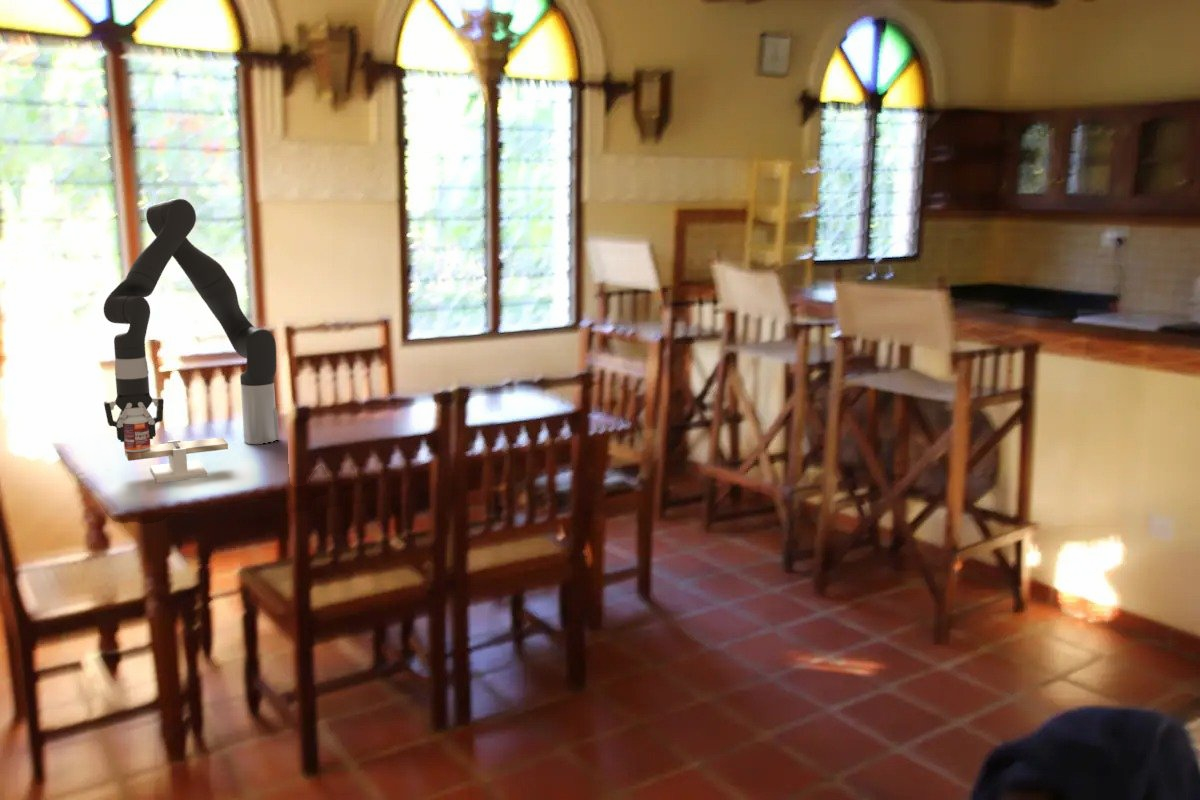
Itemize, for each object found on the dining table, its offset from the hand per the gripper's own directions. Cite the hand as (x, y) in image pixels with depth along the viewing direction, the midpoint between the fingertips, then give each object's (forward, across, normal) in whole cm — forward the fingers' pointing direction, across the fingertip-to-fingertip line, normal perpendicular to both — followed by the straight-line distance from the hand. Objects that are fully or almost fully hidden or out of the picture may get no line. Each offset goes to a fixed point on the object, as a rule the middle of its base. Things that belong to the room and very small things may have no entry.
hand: (136, 439), depth 266 cm
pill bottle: (+3, 0, 0) cm, 3 cm away
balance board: (+3, -9, 0) cm, 10 cm away
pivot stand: (+10, -9, 0) cm, 14 cm away
